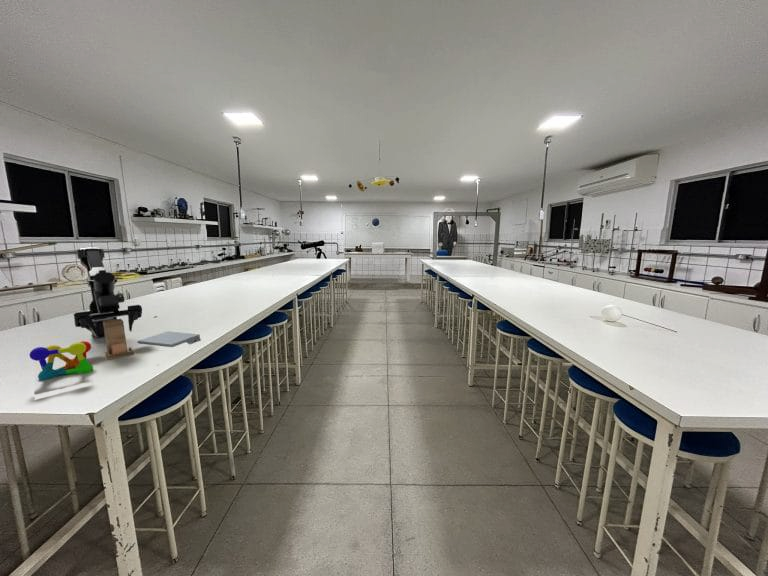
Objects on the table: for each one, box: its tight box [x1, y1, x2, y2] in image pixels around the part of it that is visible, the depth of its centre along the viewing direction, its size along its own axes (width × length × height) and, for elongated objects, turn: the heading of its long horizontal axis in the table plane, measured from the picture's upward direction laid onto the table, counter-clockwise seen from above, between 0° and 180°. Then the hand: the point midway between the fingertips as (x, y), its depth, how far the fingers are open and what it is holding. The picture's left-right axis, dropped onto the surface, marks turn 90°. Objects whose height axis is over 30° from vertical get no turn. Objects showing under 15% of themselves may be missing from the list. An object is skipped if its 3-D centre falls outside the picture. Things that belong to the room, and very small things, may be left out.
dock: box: [137, 330, 201, 347], centre depth 124 cm, size 17×13×2 cm
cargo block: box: [111, 343, 128, 355], centre depth 108 cm, size 4×4×4 cm
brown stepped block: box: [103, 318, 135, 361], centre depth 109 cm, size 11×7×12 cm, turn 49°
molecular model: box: [29, 340, 94, 381], centre depth 92 cm, size 15×12×15 cm
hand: (114, 333), depth 110 cm, fingers open, 9 cm apart
